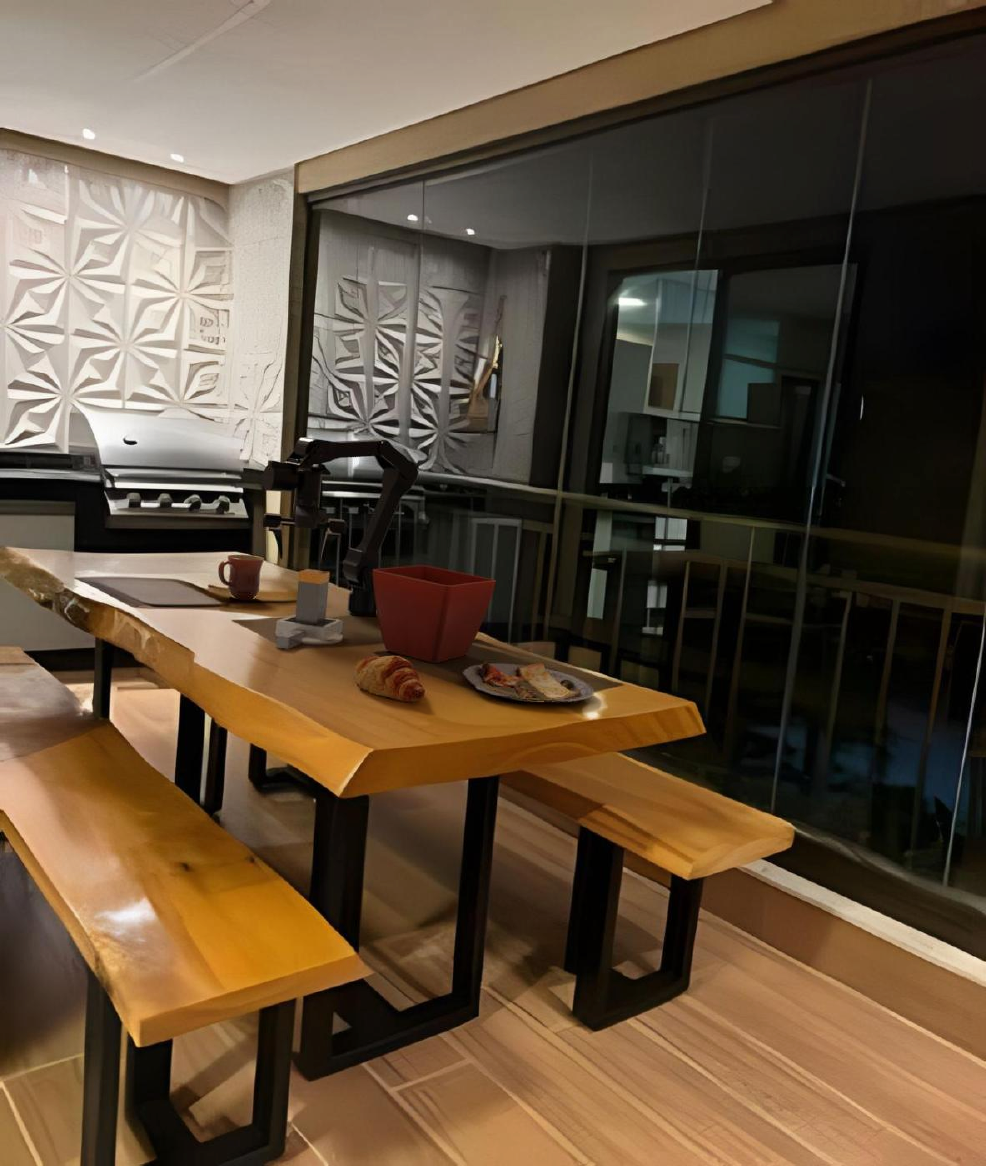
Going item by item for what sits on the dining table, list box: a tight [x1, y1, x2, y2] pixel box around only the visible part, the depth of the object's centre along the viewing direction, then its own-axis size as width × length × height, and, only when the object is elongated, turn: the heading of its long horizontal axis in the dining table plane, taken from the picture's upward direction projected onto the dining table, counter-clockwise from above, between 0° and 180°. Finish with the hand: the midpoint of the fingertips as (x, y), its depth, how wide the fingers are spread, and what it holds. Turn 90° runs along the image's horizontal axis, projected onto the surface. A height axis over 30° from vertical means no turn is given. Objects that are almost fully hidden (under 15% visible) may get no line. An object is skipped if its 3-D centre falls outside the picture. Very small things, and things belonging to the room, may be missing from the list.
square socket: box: [275, 613, 344, 650], centre depth 202 cm, size 20×14×4 cm
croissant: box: [353, 655, 426, 703], centre depth 171 cm, size 21×10×8 cm, turn 39°
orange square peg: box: [295, 568, 331, 627], centre depth 205 cm, size 5×5×13 cm
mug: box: [217, 554, 265, 602], centre depth 238 cm, size 12×9×10 cm
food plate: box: [462, 661, 595, 703], centre depth 182 cm, size 25×23×4 cm
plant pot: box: [373, 564, 497, 664], centre depth 202 cm, size 19×19×17 cm
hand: (301, 560), depth 225 cm, fingers open, 9 cm apart
